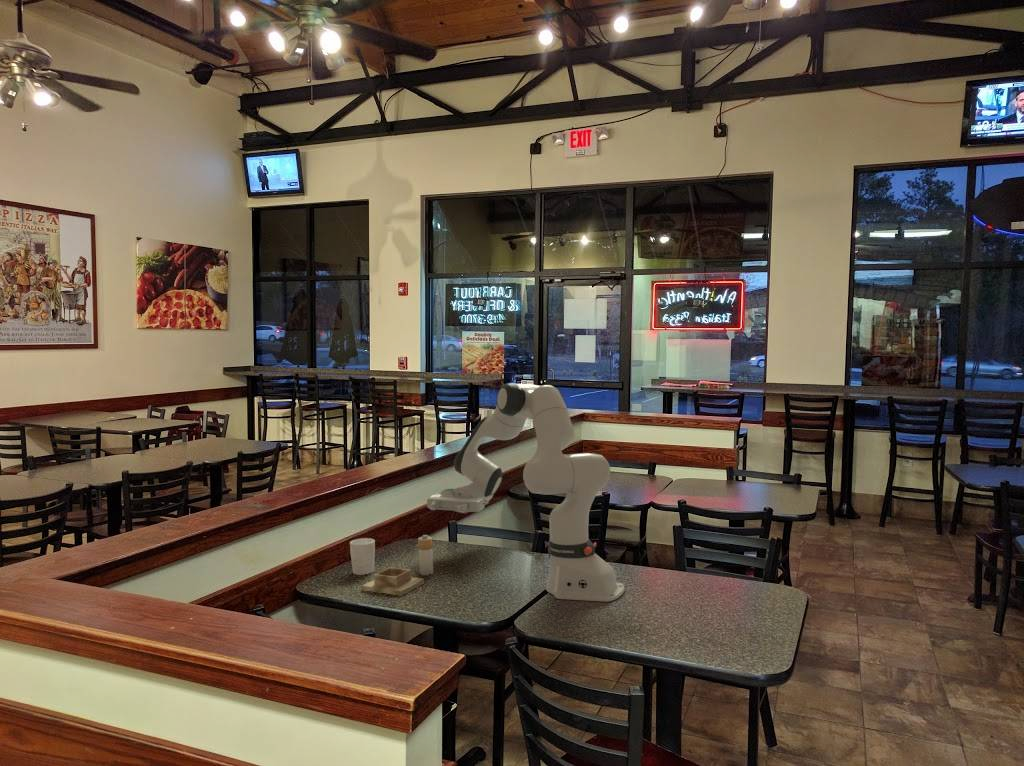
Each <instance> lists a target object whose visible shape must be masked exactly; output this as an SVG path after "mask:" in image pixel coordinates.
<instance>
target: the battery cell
mask: <svg viewBox="0 0 1024 766" xmlns="http://www.w3.org/2000/svg"><path fill="white" fill-rule="evenodd" d="M417 545H418V546H417V549H418V566H419V567H418V569H419V570H418V573H420V574H421V575H420V574H419V575H420V576H429V575H428V574H431V575H433V574H434V555H433V553H434V552H433V548H434V547H433V536H429V535H428V534H422V536H420V537H418V538H417ZM432 573H433V574H432Z"/></svg>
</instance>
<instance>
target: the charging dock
mask: <svg viewBox="0 0 1024 766" xmlns="http://www.w3.org/2000/svg"><path fill="white" fill-rule="evenodd" d="M422 584H423V585H424V584H425V579H424V578H422V577H421V578H420V577H412V569H409V568H408V569H406V568H398V567H387V568H385V569H383V570H382V571H379V572H377V573H374V575H373V579H372V580H371V581H368V582H366V583H365V584H362V585H361V591H362V590H364V591H363V592H367V591H373V592H372V593H374V591H375V592H380V593H379V594H381V593H387V594H393V595H392V596H394V595H398V596H397V597H403V596H405V595H407V594H408V593H410V592H412V591H414V590H416V589H417V588H419V587H421V586H423V585H422ZM420 585H421V586H420ZM415 588H416V589H415ZM413 589H414V590H413ZM411 590H412V591H411ZM409 591H410V592H409ZM406 593H407V594H406ZM387 594H386V595H387ZM404 594H405V595H404ZM402 595H403V596H402Z"/></svg>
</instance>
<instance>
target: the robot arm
mask: <svg viewBox="0 0 1024 766" xmlns="http://www.w3.org/2000/svg"><path fill="white" fill-rule="evenodd" d="M527 419H528V420H532V423H533V426H534V430H535V434H536V435H535V437H536V441H537V447H536V451H535V453H534V454H533V456H532V457H531V459H529V460H528V461H527V462H526V464H525V466H524V468H523V472H522V474H523V475H522V479H523V482H524V485H525V487H526V488H527V490H528V491H529V492H530V493H532V494H539V495H544V496H545V495H547V496H548V495H558V494H559V495H560V494H566V495H565V498H564V500H563V501H562V502H561V503H560V504H559V505H557V506H555V507H554V508H553V509H552V510H551V512H550V514H549V519H548V520H549V521H548V522H549V540H548V550H547V551H548V559H549V569H548V570H549V571H548V577H547V581H546V582H547V583H546V586H545V590H546V591H547V593H549V594H551V595H553V597H554V598H555V599H557V600H568V601H569V600H573V601H588V602H590V601H591V602H612V601H615V600H617V599H619V598H620V597H621V596H622V595H623V594H624V593H625V590H626V588H625V585H624V584H623V583H621V582H617V576H616V571H615V569H614V567H613V566H612V565H610V564H609V563H608V562H606V561H605V560H604V559H603V558H601V557H600V556H599V555H598V554H597V553H596V547H597V542H596V541H595V542H594V543H593V542H592V541H591V540H590V538H589V517H590V516H589V515H590V510H591V507H592V504H593V502H594V500H595V498H596V497H597V495H598V494H599V492H600V491H601V490H602V489H604V488H605V486H607V484H608V482H609V481H610V478H611V466H610V463H609V462H608V460H607V459H606V458H605V456H603V455H602V454H599V453H593V452H592V453H590V452H581V453H580V452H579V453H569V454H566V453H565V454H564V453H563V452H562V451H563V450H564V449H566V448H567V447H569V446H570V445H571V444H572V443H573V440H574V438H575V429H574V427H573V423H572V420H571V418H570V413H569V411H568V407H567V405H566V403H565V401H564V397H563V394H562V392H561V391H560V390H559V389H558V388H557V387H555V386H553V385H550V384H544V385H537V384H533V383H516V382H509V383H504V384H503V385H502V386H501V387H500V388H499V389H498V392H497V396H496V406H495V409H494V411H493V414H491V415H486V416H485V417H483V418H482V419H480V420H479V422H478V423H477V425H476V426H475V428H474V429H473V431H472V432H471V434H470V435H469V437H468V438H467V440H466V442H465V443H464V445H463V446H462V447H461V448H460V450H459V451H458V453H457V454H456V455H455V458H454V459H453V467H454V470H455V472H457V473H458V474H460V475H462V476H464V477H466V479H468V480H470V483H468V484H467V485H466V484H465V485H463V486H459V487H455V488H446V489H445V488H444V489H441V491H440V492H437V493H434V494H432V495H430V496H428V497H427V498H426V506H427V509H429V510H431V511H436V510H443V511H454V512H456V513H461V514H467V513H479V512H481V511H482V510H484V509H485V506H486V505H488V504H489V503H490V502H489V501H490V500H492V498H493V496H494V495H495V493H497V491H498V489H500V487H501V484H502V482H503V471H502V468H501V467H499V466H498V465H496V463H494V462H492V461H491V460H489V458H487V457H485V456H484V455H483V454H481V453H480V451H478V449H479V446H480V445H481V444H482V442H483V440H484V439H485V437H487V438H492V439H496V440H499V441H509V440H510V441H511V440H512V439H514V438H516V437H518V436H519V435H520V433H521V432H522V430H523V429H524V426H525V424H526V421H527Z"/></svg>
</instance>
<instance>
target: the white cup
mask: <svg viewBox="0 0 1024 766" xmlns="http://www.w3.org/2000/svg"><path fill="white" fill-rule="evenodd" d="M375 542H376V540H375V539H373V538H369V537H365V538H364V537H361V538H356V539H352V540H351V541H349V549H350V558H351V559H350V560H351V566H352V567H351V568H352V573H353V575H355V574H356V576H365V574H367V575H370V574H369V573H371V574H373V573H374V572H375V560H376V559H375V557H376V552H375V551H376V543H375ZM372 572H373V573H372Z"/></svg>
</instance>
